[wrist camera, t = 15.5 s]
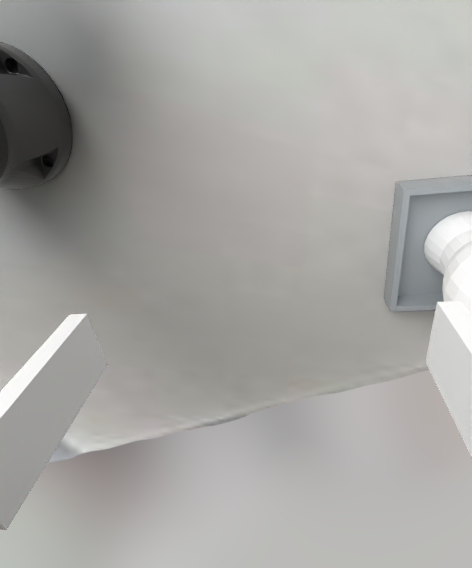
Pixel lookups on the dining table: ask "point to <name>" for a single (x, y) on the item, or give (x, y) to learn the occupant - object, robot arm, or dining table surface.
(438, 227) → the cup
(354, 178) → the dining table surface
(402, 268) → the tray
